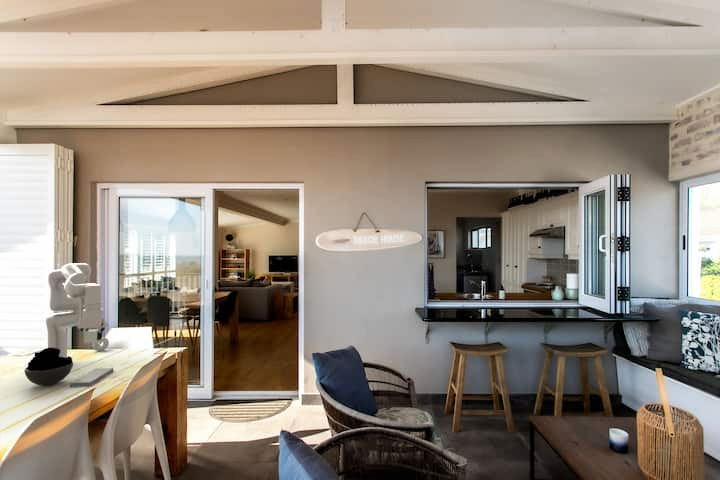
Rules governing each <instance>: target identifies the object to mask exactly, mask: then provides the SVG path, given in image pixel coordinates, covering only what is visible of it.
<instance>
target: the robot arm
mask: <svg viewBox="0 0 720 480" xmlns="http://www.w3.org/2000/svg"><path fill="white" fill-rule="evenodd" d="M91 272H92V269H91V266H90V265H89V264H88V263H84V262H83V263H82V262H80V263H79V262H78V263H67V264H64V265H62V267H61V268H60V269H53V270H50V271H49V272H48V273H47V277H46V280H47V284H48V288H49V308H50V311H52V312H57V313H52V314H50V315H48V316H47V317H46V320H45V325H46V330H47V348H52V347H53V348H57V349H60V354H59V357H65V358H66V357H68V334H67V331H65V330H63V329H65V328H71V327H77V329H79V331H80V332H82V334H84V332H85V331H88V330H90V329H97V330H98V333H97V340H100V339H102V337H103V332H104V331H105V330H106V329H107V328H108V327H109V324H108V322H106V321H105V315H104V310H103V308H102V285H101V284H98V283H97V284H96V283H94V282H93V283H92V282H91V283H85V281H86V279H87V278H88V277H89V276H91ZM81 298H84V304H83V305H82V299H81ZM82 308H83V310H82ZM65 311H66V312H65Z"/></svg>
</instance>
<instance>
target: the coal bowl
mask: <svg viewBox="0 0 720 480" xmlns="http://www.w3.org/2000/svg"><path fill="white" fill-rule="evenodd" d="M59 354H60V349H57V348H53V347H52V348H48V347H46V348H44V349H42V350H40V351H38V352H37V351H36V352H34V357H32V358H31V360H30V361H29V362H28V363H27V367H25V368H24V373H25V374H24V375H25V377H26V378H27V380H28V381H30V382H31V383H32V384H34V385H36V386H37V385H38V386H45V387H46V386H51V385H55V384H58V383H60V382H62V381H63V380H64V379H65V378H67V377H68V375H69V374H70V372H71V371H72V369H73V366H74V361H73V357H72V356H70V355H69V356H68V355H67V357H66V358H65V357H59Z"/></svg>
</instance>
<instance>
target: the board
mask: <svg viewBox="0 0 720 480" xmlns="http://www.w3.org/2000/svg"><path fill="white" fill-rule="evenodd" d="M113 372H114V367H108V368H107V367H106V368H105V367H104V368H93V369H92V370H90V371H88V372H87V373H84V374H83V375H81V376H79V377H78V378H76V379H75V380H73V381H71V382H70V383H69V388H76V387H77V388H79V387H91V386H93V385H94V384H96V383H97V382H99V381H101V380H102V379H103V378H105V377H107V376H108V375H110V374H112V373H113Z"/></svg>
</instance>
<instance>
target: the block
mask: <svg viewBox="0 0 720 480" xmlns="http://www.w3.org/2000/svg"><path fill="white" fill-rule="evenodd" d="M97 333H98V330H97V328H95V329H88V331H85V332H84V333H83V343H84V344H92V343H96V342H98V341H100V342H101V340H102V339H100V340H97ZM98 343H99V342H98Z"/></svg>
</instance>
